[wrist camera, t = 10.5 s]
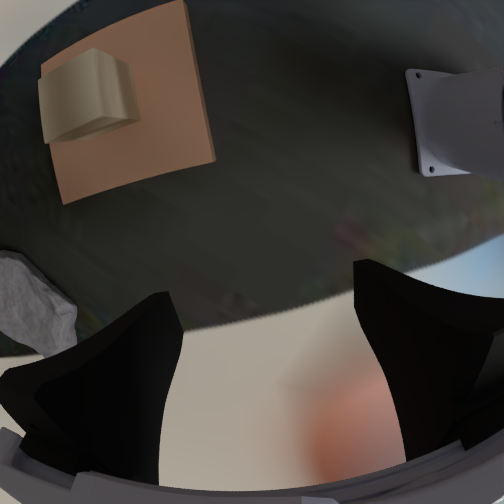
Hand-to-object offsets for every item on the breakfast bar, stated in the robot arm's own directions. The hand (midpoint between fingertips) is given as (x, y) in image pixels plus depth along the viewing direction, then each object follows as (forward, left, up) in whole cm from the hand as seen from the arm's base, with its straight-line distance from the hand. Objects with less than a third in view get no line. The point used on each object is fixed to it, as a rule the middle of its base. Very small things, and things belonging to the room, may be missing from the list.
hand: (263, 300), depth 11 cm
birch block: (+8, -11, -8) cm, 16 cm away
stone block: (+24, +3, -10) cm, 26 cm away
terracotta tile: (+8, -11, -10) cm, 17 cm away
